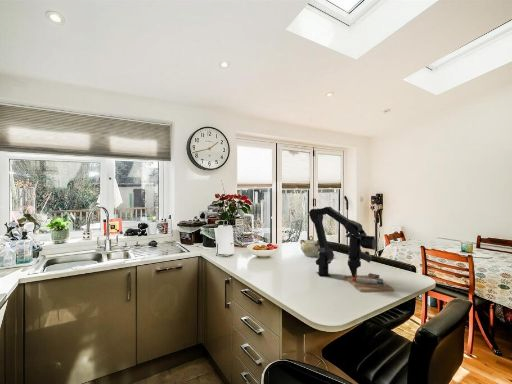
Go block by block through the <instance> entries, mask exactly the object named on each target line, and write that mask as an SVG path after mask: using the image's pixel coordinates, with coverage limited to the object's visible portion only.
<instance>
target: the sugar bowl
mask: <svg viewBox="0 0 512 384" xmlns="http://www.w3.org/2000/svg"><path fill="white" fill-rule="evenodd" d="M299 243H300V250H301V252H302V253H303V255H304V256H305V257H317V255H319V250H320V246H319V242H318V241H316V240H314V237H313V236H312V235H310V236H309V237H308V239H307V240H305V239H301V240H300V241H299Z"/></svg>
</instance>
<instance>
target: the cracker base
mask: <svg viewBox="0 0 512 384" xmlns="http://www.w3.org/2000/svg"><path fill="white" fill-rule="evenodd" d="M369 274H374V275H375V277H376V278H380V274H377V273H376V274H375V273H371V272H370V273H368V274H367V275H366V274H365V275H364V274H363V275H360V274H359V275H358V274H357V277H359V278H369V277H368V276H369ZM343 278H344V280H346V281H347V282H348V283H350V284H351V285H352V286H353V287H354V288H355V289H356V290H357V291H359V292H361V293H362V292H363V293H364V292H365V293H366V292H367V293H370V292H373V293H374V292H394V291H395V289H394V287H392V286H390V285H389V284H387V283H386V282H385V281H383V284H377V283H369V282H360V281H353V280H352V274H351V275H343ZM376 278H375V279H376Z"/></svg>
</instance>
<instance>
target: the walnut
mask: <svg viewBox="0 0 512 384" xmlns="http://www.w3.org/2000/svg"><path fill="white" fill-rule="evenodd" d="M368 274H369V273H368ZM374 274H375V273H372V274H369V276H368V277H369V278H372V279H375V278H376V277H375V275H374Z"/></svg>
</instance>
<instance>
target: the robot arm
mask: <svg viewBox="0 0 512 384" xmlns="http://www.w3.org/2000/svg"><path fill="white" fill-rule="evenodd" d="M325 215H328V217H330V218H332V219H333V220H335V221H336V222H338V223H340V224H341V226H343V227H344V229H345V230H346V231H347V232H348V233H347V234H346V235H345V238H349V239H348V240H349V241H348V258H347V266H348V268H349V270H350V273H351V275H352V277H355V275H356V271H357V272H358V269H359V268H360V267H361V266H362V262H361V260H363V261H365V262H367V263H371V261H372V259H373V256H372V255H371V254H370V252H369V251H367V250H368V249H369V250H371V251H373V250H374V251H375V250H376V248H377V244H378V242H377V239H376V237H375V235H374V236H373V235H367V233H366V232H365V230H364V229H363V225H362V224H361V223H359V222H357V221H355V220H353V219H349V218H347V217H346V216H344V215H343V214H341V213H340V212H339V211H338V210H335V209H334V208H333V207H332V206H324V207H322V208H319V207H317V208H311V209H310V210H309V212H308V216H309V218H310V220H311V222H312V223H313V224H314V225H313V226H314V229H315V233H316V236H317V242H318V243H319V246H320V250H319V252H318V258H317V259H316V260H315V265H317V266H318V271H316V274H317V275H318V276H319V277H330V276H331V274H330V273H329V265H330V264H331V263H332V261H333V260H334V258H335V257H334V256H335V253H334V249H333V248H330V246H329V245H328V240H327V237H326V236H327V235H326V231H325V227H324V224H323V222H324V221H323V220H324V216H325ZM361 247H362V249H367V250H366V251H362V249H361Z"/></svg>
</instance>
